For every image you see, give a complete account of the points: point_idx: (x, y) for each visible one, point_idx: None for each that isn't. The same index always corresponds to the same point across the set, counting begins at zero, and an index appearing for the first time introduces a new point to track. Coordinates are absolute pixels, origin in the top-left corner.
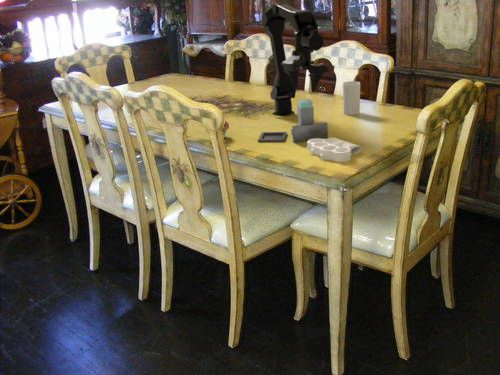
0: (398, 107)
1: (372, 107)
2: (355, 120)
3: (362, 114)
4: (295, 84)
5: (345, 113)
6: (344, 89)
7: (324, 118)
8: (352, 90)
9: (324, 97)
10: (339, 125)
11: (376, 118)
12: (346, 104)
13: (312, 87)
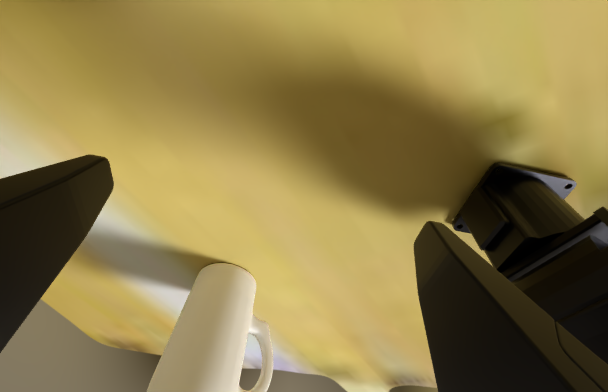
0: (157, 349)
1: None
2: (146, 222)
3: (186, 282)
4: (437, 275)
5: (230, 267)
6: (204, 369)
7: (275, 203)
8: (163, 366)
9: (412, 371)
10: (138, 138)
11: (110, 262)
12: (214, 299)
13: (16, 179)
